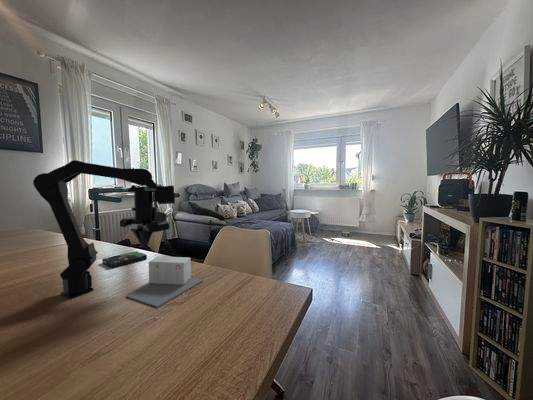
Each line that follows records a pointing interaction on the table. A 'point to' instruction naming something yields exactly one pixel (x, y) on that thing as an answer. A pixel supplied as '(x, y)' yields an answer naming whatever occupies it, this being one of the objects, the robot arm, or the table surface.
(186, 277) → the small box
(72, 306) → the table surface
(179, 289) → the mat
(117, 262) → the disk drive
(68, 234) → the robot arm
